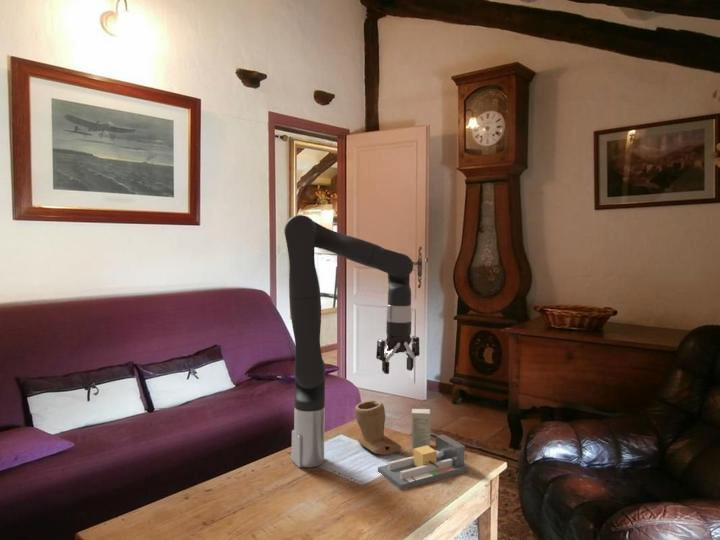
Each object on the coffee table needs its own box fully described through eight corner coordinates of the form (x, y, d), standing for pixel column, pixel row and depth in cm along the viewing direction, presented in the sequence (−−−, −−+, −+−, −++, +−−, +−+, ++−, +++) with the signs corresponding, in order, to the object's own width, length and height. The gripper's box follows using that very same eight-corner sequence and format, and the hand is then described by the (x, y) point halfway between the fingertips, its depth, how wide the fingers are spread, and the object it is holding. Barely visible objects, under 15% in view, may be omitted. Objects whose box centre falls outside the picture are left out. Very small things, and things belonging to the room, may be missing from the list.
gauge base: (400, 490, 144) (400, 477, 144) (377, 472, 154) (378, 460, 154) (467, 471, 156) (468, 460, 155) (442, 455, 166) (442, 445, 166)
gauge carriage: (430, 476, 148) (431, 459, 148) (413, 464, 156) (413, 448, 155) (455, 469, 153) (456, 453, 152) (437, 458, 160) (437, 442, 160)
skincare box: (430, 444, 175) (431, 408, 174) (430, 450, 170) (431, 413, 169) (410, 443, 175) (411, 407, 174) (410, 448, 171) (411, 412, 170)
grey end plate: (456, 467, 155) (457, 448, 154) (435, 454, 163) (436, 436, 163) (464, 465, 156) (464, 446, 156) (443, 452, 165) (443, 434, 164)
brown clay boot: (348, 442, 175) (348, 399, 174) (379, 436, 181) (380, 394, 179) (369, 460, 162) (370, 413, 160) (402, 453, 167) (403, 408, 166)
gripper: (411, 315, 165) (410, 366, 167) (372, 319, 158) (371, 371, 160) (425, 319, 159) (424, 372, 160) (385, 323, 152) (384, 377, 153)
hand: (397, 371), depth 160 cm, fingers open, 8 cm apart
